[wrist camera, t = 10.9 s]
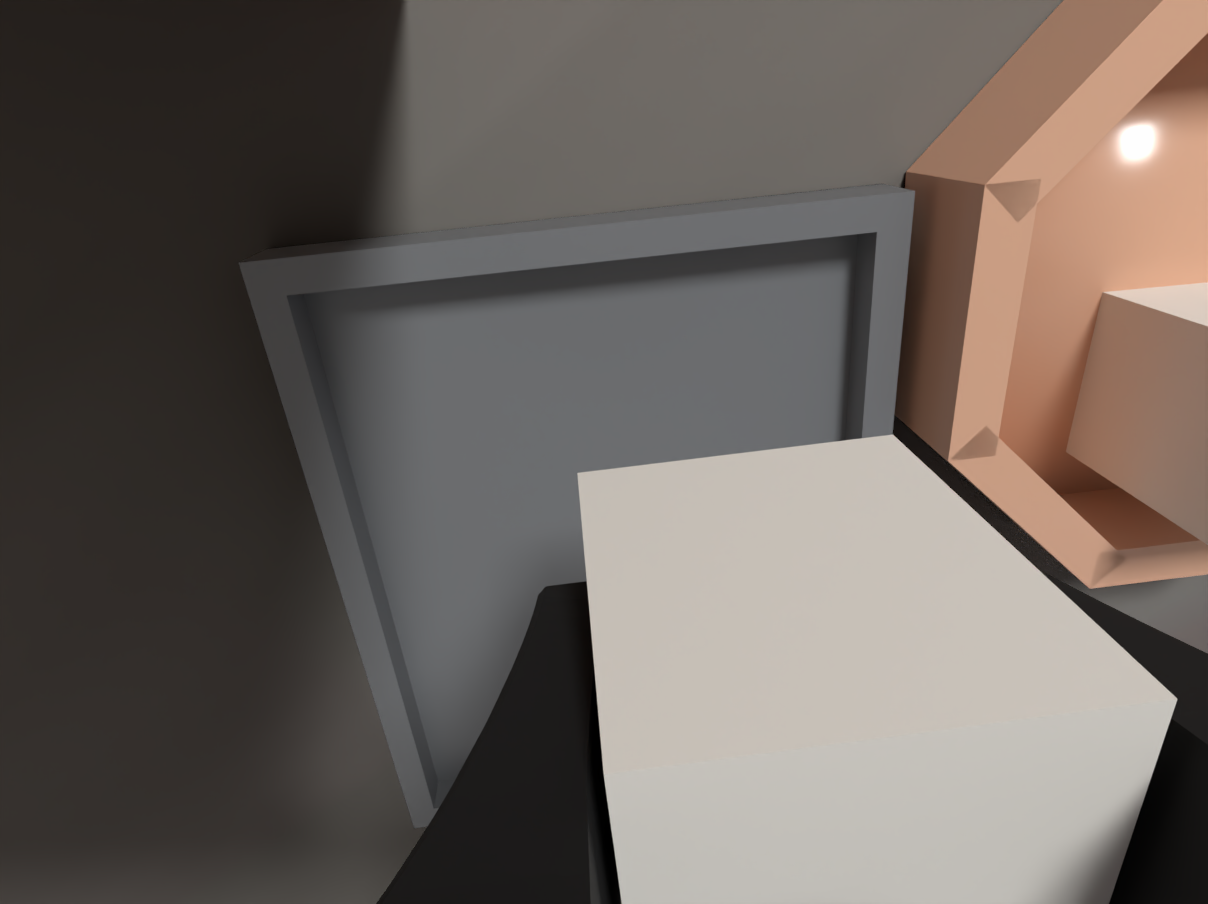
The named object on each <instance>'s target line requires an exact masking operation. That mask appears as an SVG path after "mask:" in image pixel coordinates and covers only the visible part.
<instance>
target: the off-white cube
mask: <svg viewBox="0 0 1208 904" xmlns="http://www.w3.org/2000/svg"><path fill="white" fill-rule="evenodd" d="M577 475H578V487H579V498H580V509H581V521H582V532H583V544H584V555H585V567H586V578H587V590H588V601H589V613H590V624H591V636H592V647H593V659H594V670H595V681H596V693H597V704H598V716H599V727H600V739H601V750H602V762H603V773H604V781H605V788H606V795H607V802H608V809H609V816H610V823H611V831H612V838H613V845H614V852H615V859H616V866H617V873H618V880H619V888H620V895H621V902H622V904H1109V902H1110V899H1111V896H1112V893H1113V890H1114V887H1115V884H1116V881H1117V878H1118V875H1119V872H1120V869H1121V866H1122V863H1123V860H1124V857H1125V854H1126V851H1127V848H1128V845H1129V842H1130V839H1131V836H1132V833H1133V830H1134V827H1135V824H1136V821H1137V818H1138V815H1139V812H1140V809H1141V807H1142V804H1143V801H1144V798H1145V795H1146V792H1147V789H1148V786H1149V783H1150V780H1151V777H1152V774H1153V771H1154V768H1155V765H1156V762H1157V759H1158V756H1159V753H1160V750H1161V747H1162V744H1163V741H1164V738H1165V735H1166V732H1167V729H1168V726H1169V723H1170V720H1171V717H1172V714H1173V711H1174V708H1175V705H1176V702H1177V698H1176V697H1175V696H1174V695H1173V694H1172V693H1171V692H1170V691H1169V690H1167V689H1166V688H1165V687H1164V686H1163V685H1162V684H1161V683H1160V682H1159V681H1158V680H1157V679H1156V678H1155V677H1153V676H1152V675H1151V674H1150V673H1149V672H1148V671H1147V670H1146V669H1145V668H1144V667H1143V666H1142V665H1141V664H1139V663H1138V662H1137V661H1136V660H1135V659H1134V658H1133V657H1132V656H1131V655H1130V654H1129V653H1128V652H1127V651H1125V650H1124V649H1123V648H1122V647H1121V646H1120V645H1119V644H1118V643H1117V642H1116V641H1115V640H1114V639H1113V638H1111V637H1110V636H1109V635H1108V634H1107V633H1106V632H1105V631H1104V630H1103V629H1102V628H1101V627H1100V626H1099V625H1097V624H1096V623H1095V622H1094V621H1093V620H1092V619H1091V618H1090V617H1089V616H1088V615H1087V614H1086V613H1085V612H1083V611H1082V610H1081V609H1080V608H1079V607H1078V606H1077V605H1076V604H1075V603H1074V602H1073V601H1072V600H1071V599H1069V598H1068V597H1067V596H1066V595H1065V594H1064V593H1063V592H1062V591H1061V590H1060V589H1059V588H1058V587H1057V586H1055V585H1054V584H1053V583H1052V582H1051V581H1050V580H1049V579H1048V578H1047V577H1046V576H1045V575H1044V574H1043V573H1041V572H1040V571H1039V570H1038V569H1037V568H1036V567H1035V566H1034V565H1033V564H1032V563H1031V562H1030V561H1029V560H1027V559H1026V558H1025V557H1024V556H1023V555H1022V554H1021V553H1020V552H1019V551H1018V550H1017V549H1016V548H1015V547H1013V546H1012V545H1011V544H1010V543H1009V542H1008V541H1007V540H1006V539H1005V538H1004V537H1003V536H1002V535H1001V534H999V533H998V532H997V531H996V530H995V529H994V528H993V527H992V526H991V525H990V524H989V523H988V522H987V521H985V520H984V519H983V518H982V517H981V516H980V515H979V514H978V513H977V512H976V511H975V510H974V509H973V508H971V507H970V506H969V505H968V504H967V503H966V502H965V501H964V500H963V499H962V498H961V497H960V496H959V495H957V494H956V493H955V492H954V491H953V490H952V489H951V488H950V487H949V486H948V485H947V484H946V483H945V482H943V481H942V480H941V479H940V478H939V477H938V476H937V475H936V474H935V473H934V472H933V471H932V470H931V469H929V468H928V467H927V466H926V465H925V464H924V463H923V462H922V461H921V460H920V459H919V458H918V457H917V456H915V455H914V454H913V453H912V452H911V451H910V450H909V449H908V448H907V447H906V446H905V445H904V444H903V443H901V442H900V441H899V440H898V439H897V438H896V437H895V436H894V435H885V436H877V437H869V438H860V439H852V440H844V441H836V442H828V443H819V444H811V445H803V446H795V447H786V448H778V449H770V450H762V451H754V452H745V453H737V454H729V455H721V456H712V457H704V458H696V459H688V460H680V461H671V462H663V463H655V464H647V465H639V466H630V467H622V468H614V469H606V470H597V471H589V472H581V473H577Z"/></svg>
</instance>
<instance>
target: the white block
mask: <svg viewBox="0 0 1208 904" xmlns="http://www.w3.org/2000/svg"><path fill="white" fill-rule="evenodd" d="M1066 452H1067V453H1068V454H1070V455H1071V456H1073V457H1074V458H1076V459H1077V460H1079V461H1080V462H1082V463H1083V464H1085V465H1086V466H1088V467H1090V468H1091V469H1093V470H1094V471H1096V472H1097V473H1099V474H1100V475H1102V476H1103V477H1105V478H1106V479H1108V480H1109V481H1111V482H1112V483H1114V484H1115V485H1117V486H1118V487H1120V488H1122V489H1123V490H1125V491H1126V492H1128V493H1129V494H1131V495H1132V496H1134V497H1135V498H1137V499H1138V500H1140V501H1141V502H1143V503H1144V504H1146V505H1147V506H1149V507H1150V508H1152V509H1154V510H1155V511H1157V512H1158V513H1160V514H1161V515H1163V516H1164V517H1166V518H1167V519H1169V520H1170V521H1172V522H1173V523H1175V524H1176V525H1178V526H1179V527H1181V528H1182V529H1184V530H1186V531H1187V532H1189V533H1190V534H1192V535H1193V536H1195V537H1196V538H1198V539H1199V540H1201V541H1202V542H1204V543H1205V544H1207V545H1208V282H1207V283H1196V284H1185V285H1174V286H1163V287H1153V288H1142V289H1131V290H1120V291H1110V292H1103V293H1102V298H1101V302H1100V306H1099V310H1098V315H1097V319H1096V323H1095V328H1094V332H1093V336H1092V341H1091V345H1090V349H1089V353H1088V358H1087V362H1086V366H1085V371H1084V375H1083V379H1082V384H1081V388H1080V392H1079V397H1078V401H1077V405H1076V409H1075V414H1074V418H1073V422H1072V427H1071V431H1070V435H1069V440H1068V444H1067V448H1066Z"/></svg>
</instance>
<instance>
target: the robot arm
mask: <svg viewBox="0 0 1208 904" xmlns="http://www.w3.org/2000/svg"><path fill="white" fill-rule="evenodd" d="M1040 572H1041V571H1040ZM1041 573H1043V572H1041ZM1043 574H1044V575H1045V576H1046V577H1047V578H1048V579H1049V580H1050V581H1051V582H1052V583H1053V584H1054V585H1055V586H1057V587H1058V588H1059V589H1060V590H1061V591H1062V592H1063V593H1064V594H1065V595H1066V596H1067V597H1068V598H1069V599H1071V600H1072V601H1073V602H1074V603H1075V604H1076V605H1077V606H1078V607H1079V608H1080V609H1081V610H1082V611H1083V612H1085V613H1086V614H1087V615H1088V616H1089V617H1090V618H1091V619H1092V620H1093V621H1094V622H1095V623H1096V624H1097V625H1099V626H1100V627H1101V628H1102V629H1103V630H1104V631H1105V632H1106V633H1107V634H1108V635H1109V636H1110V637H1111V638H1113V639H1114V640H1115V641H1116V642H1117V643H1118V644H1119V645H1120V646H1121V647H1122V648H1123V649H1124V650H1125V651H1127V652H1128V653H1129V654H1130V655H1131V656H1132V657H1133V658H1134V659H1135V660H1136V661H1137V662H1138V663H1139V664H1141V665H1142V666H1143V667H1144V668H1145V669H1146V670H1147V671H1148V672H1149V673H1150V674H1151V675H1152V676H1153V677H1155V678H1156V679H1157V680H1158V681H1159V682H1160V683H1161V684H1162V685H1163V686H1164V687H1165V688H1166V689H1167V690H1169V691H1170V692H1171V693H1172V694H1173V695H1174V696H1175V697H1176V698H1177V702H1176V705H1175V708H1174V711H1173V714H1172V717H1171V720H1170V723H1169V726H1168V729H1167V732H1166V735H1165V738H1164V741H1163V744H1162V747H1161V750H1160V753H1159V756H1158V759H1157V762H1156V765H1155V768H1154V771H1153V774H1152V777H1151V780H1150V783H1149V786H1148V789H1147V792H1146V795H1145V798H1144V801H1143V804H1142V807H1141V809H1140V812H1139V815H1138V818H1137V821H1136V824H1135V827H1134V830H1133V833H1132V836H1131V839H1130V842H1129V845H1128V848H1127V851H1126V854H1125V857H1124V860H1123V863H1122V866H1121V869H1120V872H1119V875H1118V878H1117V881H1116V884H1115V887H1114V890H1113V893H1112V896H1111V899H1110V902H1109V904H1208V654H1207V653H1205V652H1203V651H1201V650H1199V649H1197V648H1195V647H1192V646H1190V645H1188V644H1186V643H1184V642H1182V641H1180V640H1178V639H1176V638H1174V637H1171V636H1169V635H1167V634H1165V633H1163V632H1161V631H1159V630H1157V629H1155V628H1153V627H1151V626H1149V625H1147V624H1145V623H1142V622H1140V621H1138V620H1136V619H1134V618H1132V617H1130V616H1128V615H1126V614H1124V613H1122V612H1120V611H1118V610H1116V609H1114V608H1112V607H1110V606H1108V605H1106V604H1104V603H1102V602H1100V601H1098V600H1096V599H1094V598H1092V597H1090V596H1088V595H1086V594H1084V593H1083V592H1081V591H1079V590H1077V589H1075V588H1073V587H1071V586H1069V585H1067V584H1065V583H1063V582H1061V581H1059V580H1057V579H1055V578H1053V577H1051V576H1049V575H1047V574H1045V573H1043ZM377 904H621V895H620V888H619V880H618V873H617V866H616V859H615V852H614V845H613V838H612V831H611V823H610V816H609V809H608V802H607V795H606V788H605V781H604V773H603V762H602V750H601V739H600V727H599V716H598V704H597V693H596V681H595V670H594V659H593V647H592V636H591V624H590V613H589V601H588V590H587V581H584V582H576V583H568V584H560V585H552V586H546V587H545V588H544V589H543V590H542V591H541V592H540V593H539V594H538V597H537V601H536V605H535V608H534V612H533V615H532V618H531V621H530V624H529V626H528V629H527V632H526V635H525V637H524V640H523V642H522V645H521V647H520V650H519V652H518V655H517V657H516V659H515V662H514V664H513V667H512V669H511V671H510V673H509V675H508V677H507V680H506V682H505V684H504V686H503V688H502V690H501V693H500V695H499V697H498V699H497V701H496V703H495V705H494V708H493V710H492V712H491V714H490V716H489V718H488V720H487V722H486V724H485V726H484V728H483V730H482V732H481V733H480V735H479V737H478V739H477V741H476V743H475V744H474V746H473V748H472V750H471V752H470V754H469V755H468V757H467V759H466V761H465V763H464V765H463V767H462V768H461V770H460V772H459V774H458V776H457V778H456V779H455V781H454V783H453V785H452V787H451V788H450V790H449V792H448V794H447V795H446V797H445V799H444V800H443V802H442V804H441V805H440V807H439V809H438V810H437V812H436V814H435V815H434V817H433V819H432V820H431V822H430V823H429V825H428V827H427V828H426V830H425V831H424V833H423V835H422V836H421V838H420V839H419V841H418V842H417V844H416V846H415V847H414V849H413V850H412V852H411V853H410V855H409V856H408V858H407V859H406V861H405V862H404V864H403V866H402V867H401V869H400V870H399V872H398V873H397V875H396V876H395V878H394V879H393V881H392V882H391V884H390V885H389V887H388V888H387V889H386V891H385V892H384V894H383V895H382V896H381V898H380V899H379V901H378V902H377Z"/></svg>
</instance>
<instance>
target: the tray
mask: <svg viewBox="0 0 1208 904" xmlns="http://www.w3.org/2000/svg"><path fill="white" fill-rule="evenodd" d="M914 199H915V191H913V190H909V189H904V188H900V187H895V186H890V185H886V184H875V185H866V186H856V187H847V188H837V189H828V190H819V191H809V192H800V193H790V194H781V195H771V196H762V197H752V198H743V199H734V200H724V201H715V202H705V203H696V204H686V205H677V206H667V207H658V208H649V209H639V210H630V211H620V212H611V213H601V214H592V215H582V216H573V217H564V218H554V219H545V220H535V221H526V222H516V223H507V224H497V225H488V226H479V227H469V228H460V229H450V230H441V231H431V232H422V233H412V234H403V235H394V236H384V237H375V238H365V239H356V240H346V241H337V242H327V243H318V244H309V245H299V246H290V247H280V248H271V249H265V250H263V251H261V252H259V253H257V254H255V255H253V256H251V257H249V258H247V259H245V260H243V261H241V262H239V266H240V270H241V273H242V276H243V279H244V282H245V286H246V289H247V292H248V295H249V299H250V302H251V305H252V308H253V311H254V315H255V318H256V321H257V324H258V328H259V331H260V334H261V337H262V340H263V344H264V347H265V350H266V353H267V357H268V360H269V363H270V366H271V369H272V373H273V376H274V379H275V382H276V385H277V389H278V392H279V395H280V398H281V402H282V405H283V408H284V411H285V414H286V418H287V421H288V424H289V427H290V431H291V434H292V437H293V440H294V443H295V447H296V450H297V453H298V456H299V459H300V463H301V466H302V469H303V472H304V476H305V479H306V482H307V485H308V488H309V492H310V495H311V498H312V501H313V505H314V508H315V511H316V514H317V517H318V521H319V524H320V527H321V530H322V534H323V537H324V540H325V543H326V546H327V550H328V553H329V556H330V559H331V562H332V566H333V569H334V572H335V575H336V579H337V582H338V585H339V588H340V591H341V595H342V598H343V601H344V604H345V608H346V611H347V614H348V617H349V620H350V624H351V627H352V630H353V633H354V636H355V640H356V643H357V646H358V649H359V653H360V656H361V659H362V662H363V665H364V669H365V672H366V675H367V678H368V682H369V685H370V688H371V691H372V694H373V698H374V701H375V704H376V707H377V711H378V714H379V717H380V720H381V723H382V727H383V730H384V733H385V736H386V739H387V743H388V746H389V749H390V752H391V756H392V759H393V762H394V765H395V768H396V772H397V775H398V778H399V781H400V785H401V788H402V791H403V794H404V797H405V801H406V804H407V807H408V810H409V813H410V817H411V820H412V823H413V826H414V828H420V827H428V825H429V823H430V822H431V820H432V819H433V817H434V815H435V814H436V812H437V810H438V809H439V807H440V805H441V804H442V802H443V800H444V799H445V797H446V795H447V794H448V792H449V790H450V788H451V787H452V785H453V783H454V781H455V779H456V778H457V776H458V774H459V772H460V770H461V768H462V767H463V765H464V763H465V761H466V759H467V757H468V755H469V754H470V752H471V750H472V748H473V746H474V744H475V743H476V741H477V739H478V737H479V735H480V733H481V732H482V730H483V728H484V726H485V724H486V722H487V720H488V718H489V716H490V714H491V712H492V710H493V708H494V705H495V703H496V701H497V699H498V697H499V695H500V693H501V690H502V688H503V686H504V684H505V682H506V680H507V677H508V675H509V673H510V671H511V669H512V667H513V664H514V662H515V659H516V657H517V655H518V652H519V650H520V647H521V645H522V642H523V640H524V637H525V635H526V632H527V629H528V626H529V624H530V621H531V618H532V615H533V612H534V608H535V605H536V601H537V597H538V594H539V593H540V592H541V591H542V590H543V589H544V588H545V587H546V586H552V585H560V584H568V583H576V582H584V581H587V578H586V567H585V555H584V544H583V532H582V521H581V509H580V498H579V487H578V475H577V473H581V472H589V471H597V470H606V469H614V468H622V467H630V466H639V465H647V464H655V463H663V462H671V461H680V460H688V459H696V458H704V457H712V456H721V455H729V454H737V453H745V452H754V451H762V450H770V449H778V448H786V447H795V446H803V445H811V444H819V443H828V442H836V441H844V440H852V439H860V438H869V437H877V436H885V435H892V434H893V423H894V412H895V402H896V391H897V380H898V370H899V359H900V348H901V338H902V327H903V317H904V306H905V295H906V285H907V274H908V263H909V253H910V242H911V231H912V221H913V210H914Z"/></svg>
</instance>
